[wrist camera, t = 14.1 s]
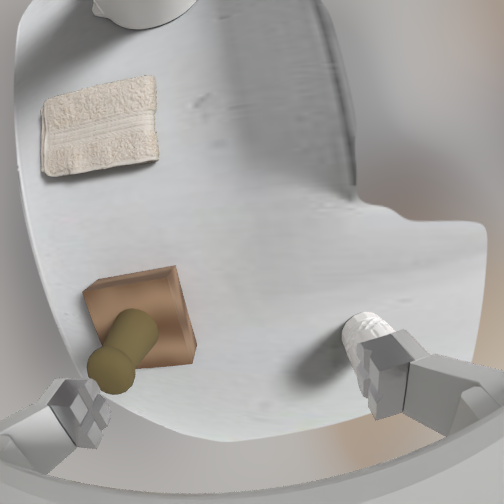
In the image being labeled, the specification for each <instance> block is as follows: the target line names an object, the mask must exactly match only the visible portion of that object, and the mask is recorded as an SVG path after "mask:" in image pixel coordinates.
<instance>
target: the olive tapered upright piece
mask: <svg viewBox="0 0 504 504" xmlns="http://www.w3.org/2000/svg"><path fill="white" fill-rule="evenodd" d="M158 337H159V330H158V327H157V324H156V323H155V321H154V320H153V318H152V317H151V316H149V315H148V314H147V313H146V312H144V311H141V310H139V309H133V308H131V309H125V310H123V311H122V312H120V313H119V314H118V316H117V317H116V319H115V321H114V323H113V325H112V327H111V329H110V332H109V334H108V336H107V338H106V340H105V342H104V344H103V347H101V348H99V349H97V350H95V351H94V352H93V353H92V355H91V356H90V357H89V359H88V363H87V372H88V376H89V378H90V379H93V380H95V381H96V382H97V384H98V386H99V388H100V390H101V391H103V392H105V393H108V394H112V395H115V394H121V393H124V392H126V391H127V390H128V389H129V388H130V387H131V386H132V384H133V382H134V379H135V369H136V367H137V366H138V365H139V364H140V362H141V361H142V360H143V359H144V357H145V356H146V355H147V354H148V352H149V351H150V350H151V349H152V347H153V346H154V345H155V344H156V342H157V340H158Z"/></svg>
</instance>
